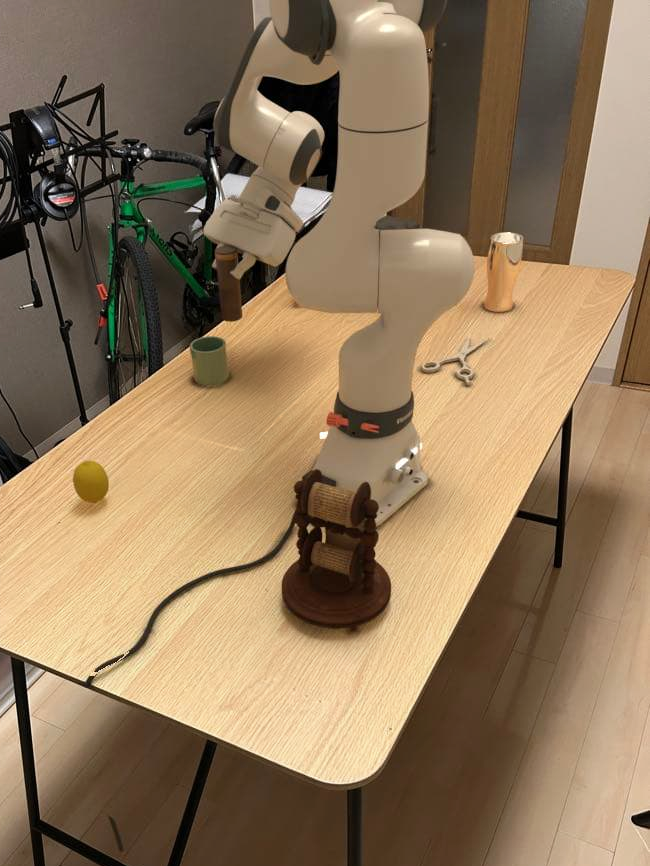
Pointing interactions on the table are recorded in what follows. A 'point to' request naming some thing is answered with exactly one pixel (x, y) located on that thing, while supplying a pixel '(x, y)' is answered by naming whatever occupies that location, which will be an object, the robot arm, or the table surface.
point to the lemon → (90, 481)
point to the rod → (228, 283)
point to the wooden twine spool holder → (335, 557)
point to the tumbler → (209, 360)
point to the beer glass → (502, 270)
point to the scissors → (458, 356)
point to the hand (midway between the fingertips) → (225, 273)
